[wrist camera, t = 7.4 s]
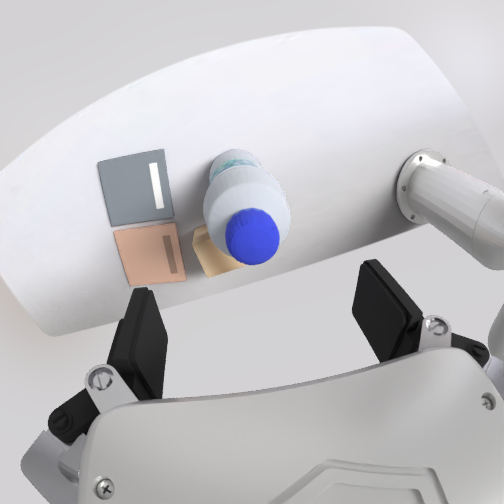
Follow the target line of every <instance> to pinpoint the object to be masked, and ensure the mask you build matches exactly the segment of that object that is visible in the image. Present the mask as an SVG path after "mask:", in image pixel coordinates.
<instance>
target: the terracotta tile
mask: <svg viewBox="0 0 504 504" xmlns="http://www.w3.org/2000/svg"><path fill="white" fill-rule="evenodd" d="M114 235H115V239H116V243H117V246H118V249H119V253H120V256H121V259H122V262H123V265H124V269H125V272H126V275H127V278H128V281H129V284H130V286H134V285H145V284H156V283H167V282H178V281H186V280H187V278H186V273H185V268H184V264H183V259H182V254H181V249H180V244H179V239H178V234H177V228H176V223H168V224H160V225H153V226H145V227H138V228H131V229H124V230H117V231H114Z"/></svg>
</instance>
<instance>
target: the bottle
mask: <svg viewBox="0 0 504 504" xmlns="http://www.w3.org/2000/svg"><path fill="white" fill-rule="evenodd" d="M209 180H210V185H209V187H208V189H207V191H206V195H205V197H204V202H203V215H204V219H205V222H206V225H207V229H208V233H209V236H210V238H211V240H212V241H213V243H214V244H215V246H216V247H217V248H218V249H219V250H221V251H222V252H223V253H225V254H226V255H228V256H230V257H233V258H235V259H236V260H237V261H239V262H240V263H244V264H248V265H256V264H261V263H264V262H265V261H267V260H269V259H270V258H271V257H272V256H273V255H274V254H275V253H276V251H277V249H278V247H279V246H280V245H281V244H282V243H283V241H284V240H285V238H286V236H287V234H288V232H289V229H290V223H291V215H290V209H289V206H288V203H287V199H286V195H285V192H284V189H283V188H282V186H281V184H280V183H279V182H278V181H277V180H276V179H275V178H274V177H273V176H272V175H271V174H270V173H268V172H267V171H265V170H264V169H263V167H262V165H261V163H260V162H259V160H258V159H257V158H256V157H255V156H254V155H253V154H251V153H249V152H247V151H244V150H240V149H231V150H229V151H226V152H224V153H222V154H221V155H219V156H218V157H217V158H216V159H215V160H214V162H213V164H212V166H211V169H210V175H209Z"/></svg>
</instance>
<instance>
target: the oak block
mask: <svg viewBox="0 0 504 504" xmlns="http://www.w3.org/2000/svg"><path fill="white" fill-rule="evenodd" d="M192 247H193V249H194V251H195V253H196V255H197V257H198V259H199V261H200V263H201V265H202V267H203V269H204V271H205V273H206V275H207V277H208V278H210V277H213V276H216V275H219V274H222V273H225V272H228V271H231V270H234V269H237V268H240V267H243V266H245V264H244V263H240V262H239V261H237V260H236V259H235V258H233V257H230V256H228V255H226V254H225V253H223V252H222V251H221V250H219V249H218V248H217V247H216V246H215V244H214V243H213V241H212V240H211V238H210V236H209V233H208V229H207V225H203V226H200V227H197V228H195V230H194V236H193V242H192Z"/></svg>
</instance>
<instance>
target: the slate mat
mask: <svg viewBox="0 0 504 504" xmlns="http://www.w3.org/2000/svg"><path fill="white" fill-rule="evenodd" d="M98 167H99V172H100V177H101V182H102V187H103V192H104V196H105V200H106V205H107V209H108V213H109V217H110V221H111V224H112V226H115V225H122V224H129V223H136V222H143V221H150V220H157V219H165V218H173V217H174V212H173V206H172V200H171V194H170V188H169V181H168V174H167V167H166V160H165V153H164V149H160V150H154V151H148V152H143V153H137V154H132V155H127V156H122V157H118V158H113V159H109V160H105V161H100V162H98Z"/></svg>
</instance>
